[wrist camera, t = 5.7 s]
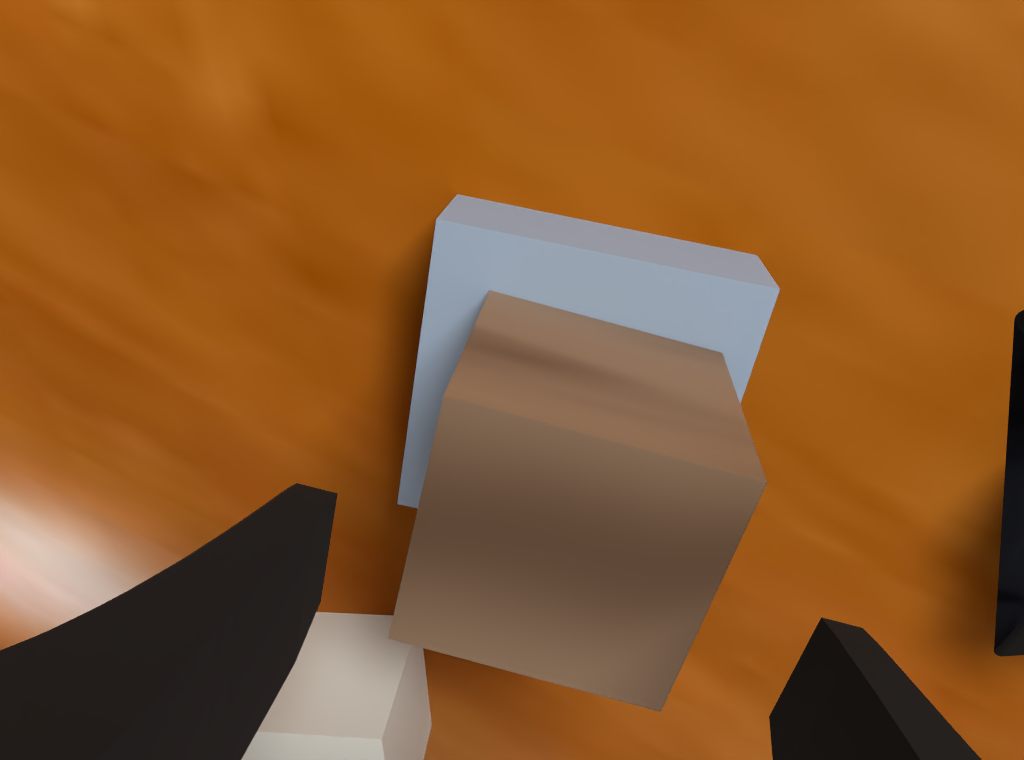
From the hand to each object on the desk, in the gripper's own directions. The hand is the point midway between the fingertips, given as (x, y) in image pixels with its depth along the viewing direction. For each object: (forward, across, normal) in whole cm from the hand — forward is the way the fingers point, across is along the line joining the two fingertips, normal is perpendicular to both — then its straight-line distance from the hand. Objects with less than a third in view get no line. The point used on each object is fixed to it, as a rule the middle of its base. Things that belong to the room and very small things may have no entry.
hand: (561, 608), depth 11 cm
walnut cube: (+6, 0, 0) cm, 6 cm away
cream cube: (+9, +4, +12) cm, 15 cm away
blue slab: (+9, 0, 0) cm, 9 cm away
